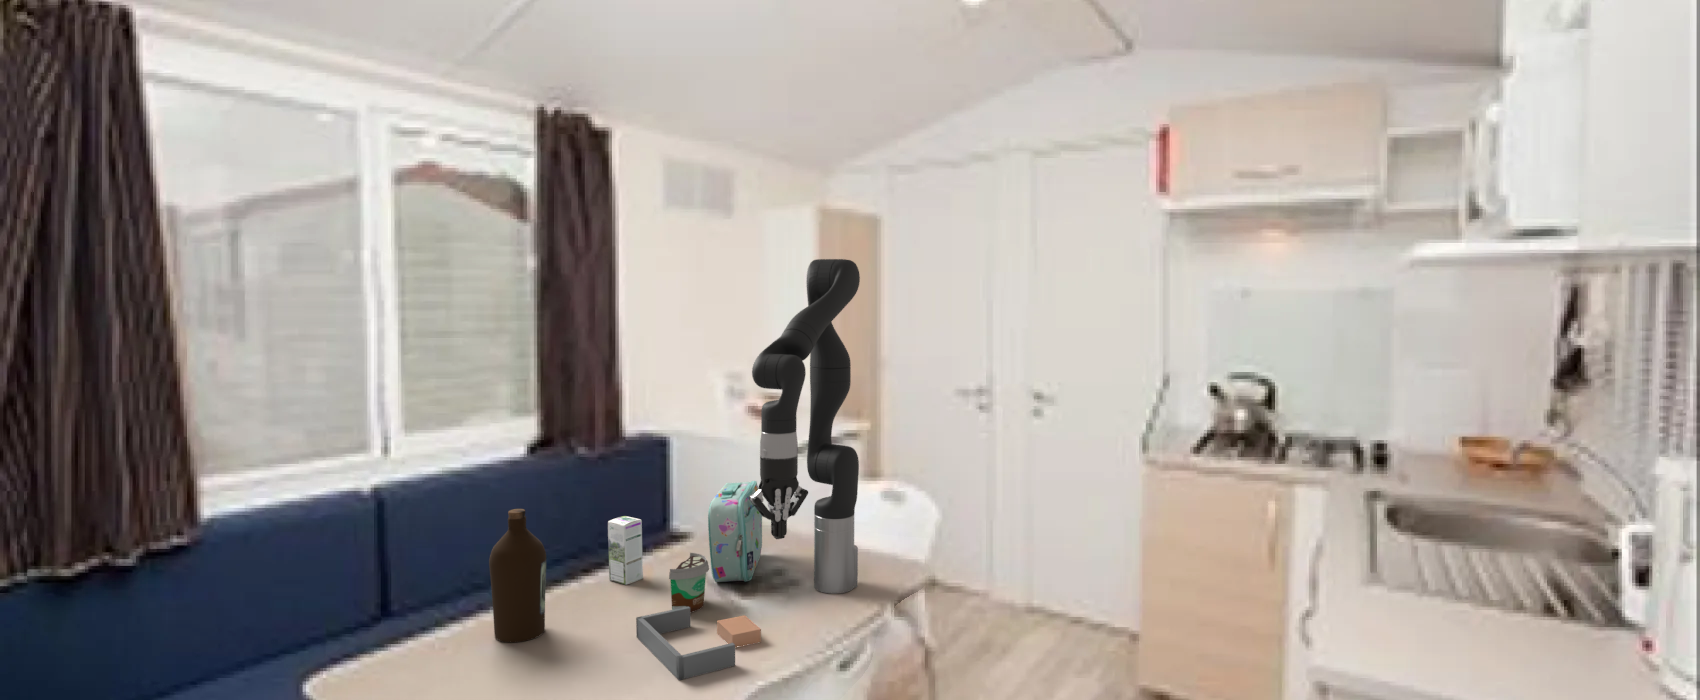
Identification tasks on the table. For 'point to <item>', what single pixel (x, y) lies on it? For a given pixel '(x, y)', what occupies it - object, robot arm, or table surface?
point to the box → (669, 656)
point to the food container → (689, 583)
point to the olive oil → (518, 582)
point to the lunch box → (734, 533)
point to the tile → (738, 631)
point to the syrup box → (625, 550)
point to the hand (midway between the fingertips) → (778, 537)
